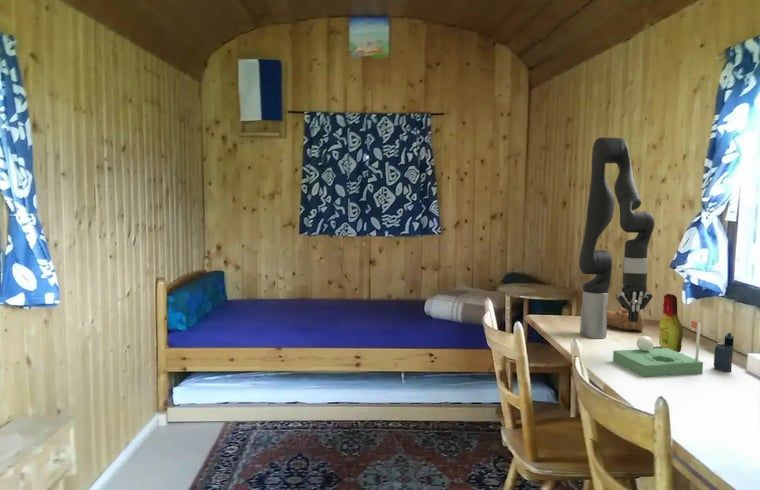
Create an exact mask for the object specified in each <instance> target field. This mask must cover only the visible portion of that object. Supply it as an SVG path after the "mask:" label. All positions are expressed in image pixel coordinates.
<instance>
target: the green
mask: <svg viewBox="0 0 760 490" xmlns="http://www.w3.org/2000/svg"><path fill="white" fill-rule="evenodd" d="M690 327H691V328H693V329H696V340H695V341H696V342H695V354H694V355H695V358H693V357H691V356H689V355H686V354H683V353H681V352H676V351H674V350H671V349H669V348H661V347H660V348H659V347H658V348H652V349H651V350H650V351H642V350H640V349H639V348H638V349H625V350H624V349H623V350H613V355H612V362H614V363H616V364H618V365H620V366H621V367H624V368H625V369H628V370H630V371H631V372H634V373H636V374H638V375H640V376H642V377H643V378H645V377H646V378H648V377H650V378H651V377H662V376H663V377H665V376H679V375H680V376H681V375H695V374H696V375H697V374H703V369H704V368H703V366H704V365H703V364H704V362H703V361H701V360H699V351H700V338H701V337H700V336H701V322H697V321H695V320H691V325H690Z"/></svg>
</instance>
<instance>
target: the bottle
mask: <svg viewBox="0 0 760 490" xmlns="http://www.w3.org/2000/svg"><path fill="white" fill-rule="evenodd" d="M662 307H663V309H662V318H661V319H660V320H659V325H658V326H659V330H658V331H659V333H658V334H659V335H658V338H659V339H658V340H659V341H658V342H659V343H658V344H659V347H660V348H669V349H671V350H674V351H676V352H679V353H681V350H682V342H683V335H684V329H683V326H682V323H681V321H680V319H679V316H678V298H677V296H676V294H672V293H667V294H665V295H663V304H662Z"/></svg>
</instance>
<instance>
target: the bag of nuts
mask: <svg viewBox="0 0 760 490" xmlns="http://www.w3.org/2000/svg"><path fill="white" fill-rule="evenodd" d="M642 310H643V309H641V310H639V312H638V320H637V322H630V321H629V320H628V310H627V309H624V308H623V307H619V309H618V310H617V311H612V310H610V309H608V313H607V326H609V327H614V328H619V329H620V330H624V331H631V330H635V331H637V330H638V331H639V332H643V330H644V325H645V322H644V315H643V311H642Z"/></svg>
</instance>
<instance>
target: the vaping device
mask: <svg viewBox="0 0 760 490" xmlns="http://www.w3.org/2000/svg"><path fill="white" fill-rule="evenodd" d="M734 338H735V337H734V336H733V335H732V333H731V332H727V335H726V334H725V335H724V341H723V342H716V345H715V347H714V358H713V367H714V369H715V370H719V371H722V372H727V373H731V372H732V367H733V354H734Z"/></svg>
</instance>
